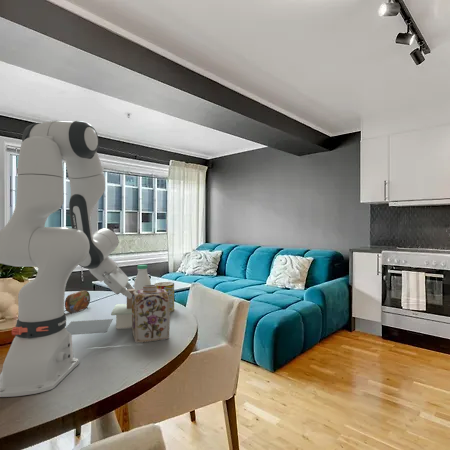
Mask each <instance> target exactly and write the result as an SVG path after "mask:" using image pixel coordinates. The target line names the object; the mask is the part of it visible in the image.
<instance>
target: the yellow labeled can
mask: <svg viewBox="0 0 450 450" xmlns="http://www.w3.org/2000/svg"><path fill="white" fill-rule="evenodd" d="M153 285H156V286H157V288H158V289H165V290H166V291H167V293H168V296H169V300H170V301H169V308H170V313H171V312H173V311H175V283H174V282H171V281H163V282H162V281H161V282H155V283H154V284H153Z"/></svg>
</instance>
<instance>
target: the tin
mask: <svg viewBox="0 0 450 450" xmlns="http://www.w3.org/2000/svg"><path fill="white" fill-rule="evenodd" d="M90 301H91V295H90V292H89V291H88V290H80V291H76V292H73V293H71V294H69V295H67V296H66V297H65V299H64V310H66V312H67V313H71V314H72V313H73V314H75V313H78V312H81V311H82V310H85V309H87V308H88V307H89V306H90Z"/></svg>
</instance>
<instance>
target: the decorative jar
mask: <svg viewBox="0 0 450 450" xmlns="http://www.w3.org/2000/svg"><path fill="white" fill-rule="evenodd" d="M169 301H170V300H169V296H168V293H167V291H166V290H165V289H158V288H157V286H156V285H154V284H151V285H144V286H143V289H140V290H137V291H134V292H133V295H132V328H131V330H132V336H133V338H134V341H135V343H137V344H138V343H149V342H155V341H163V340H164V339H165V340H169V339H170V324H171V322H170V314H171V312H170V308H169Z"/></svg>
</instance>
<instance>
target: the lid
mask: <svg viewBox="0 0 450 450" xmlns="http://www.w3.org/2000/svg"><path fill="white" fill-rule="evenodd" d="M126 289H127V288H126ZM127 290H128V291H129V292H131V293H132V294H133V292H134V291H135V289H127ZM126 314H132V298H131V299H129V298H128V297H126V303H119V304H118V303H116V304H115V306H114V307H113V309H112V311H111V314H110V315H111V316H116V315H126Z"/></svg>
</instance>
